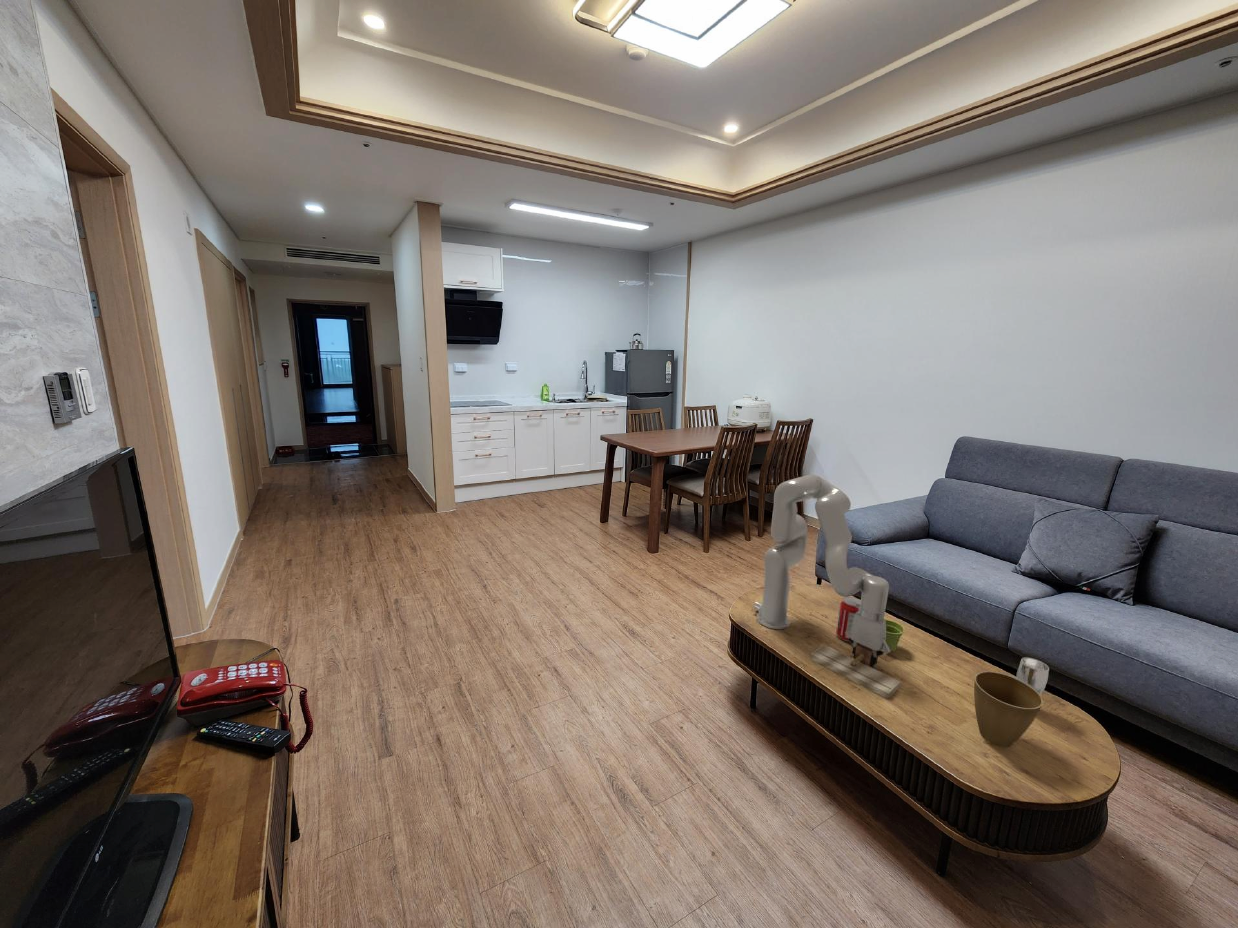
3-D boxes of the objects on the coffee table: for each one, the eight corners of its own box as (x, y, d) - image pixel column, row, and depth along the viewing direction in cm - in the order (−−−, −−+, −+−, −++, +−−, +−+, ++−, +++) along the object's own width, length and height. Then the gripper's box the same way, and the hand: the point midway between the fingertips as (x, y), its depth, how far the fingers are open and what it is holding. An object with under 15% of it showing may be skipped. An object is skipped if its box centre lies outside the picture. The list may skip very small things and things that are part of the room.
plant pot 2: (952, 727, 143) (962, 678, 139) (984, 712, 149) (995, 666, 145) (1009, 766, 130) (1022, 714, 126) (1042, 749, 136) (1055, 698, 132)
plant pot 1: (906, 652, 178) (910, 630, 176) (887, 657, 175) (891, 635, 173) (884, 638, 187) (888, 617, 185) (865, 642, 183) (869, 621, 181)
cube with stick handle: (843, 669, 166) (846, 653, 165) (858, 656, 173) (861, 641, 172) (858, 676, 163) (861, 660, 161) (873, 663, 170) (876, 648, 168)
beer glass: (1004, 702, 154) (1014, 659, 150) (1019, 697, 156) (1029, 655, 153) (1029, 717, 147) (1040, 673, 144) (1044, 712, 150) (1055, 668, 146)
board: (809, 658, 173) (810, 653, 172) (822, 649, 179) (823, 643, 178) (887, 699, 154) (888, 693, 153) (899, 686, 159) (900, 681, 159)
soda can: (847, 645, 181) (853, 608, 178) (831, 633, 188) (836, 597, 185) (863, 641, 184) (869, 604, 181) (846, 629, 191) (852, 594, 188)
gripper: (841, 606, 170) (834, 653, 174) (893, 627, 157) (885, 678, 162) (851, 599, 175) (844, 645, 179) (903, 620, 162) (894, 668, 166)
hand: (864, 660), depth 170 cm, fingers closed on cube with stick handle, 5 cm apart
